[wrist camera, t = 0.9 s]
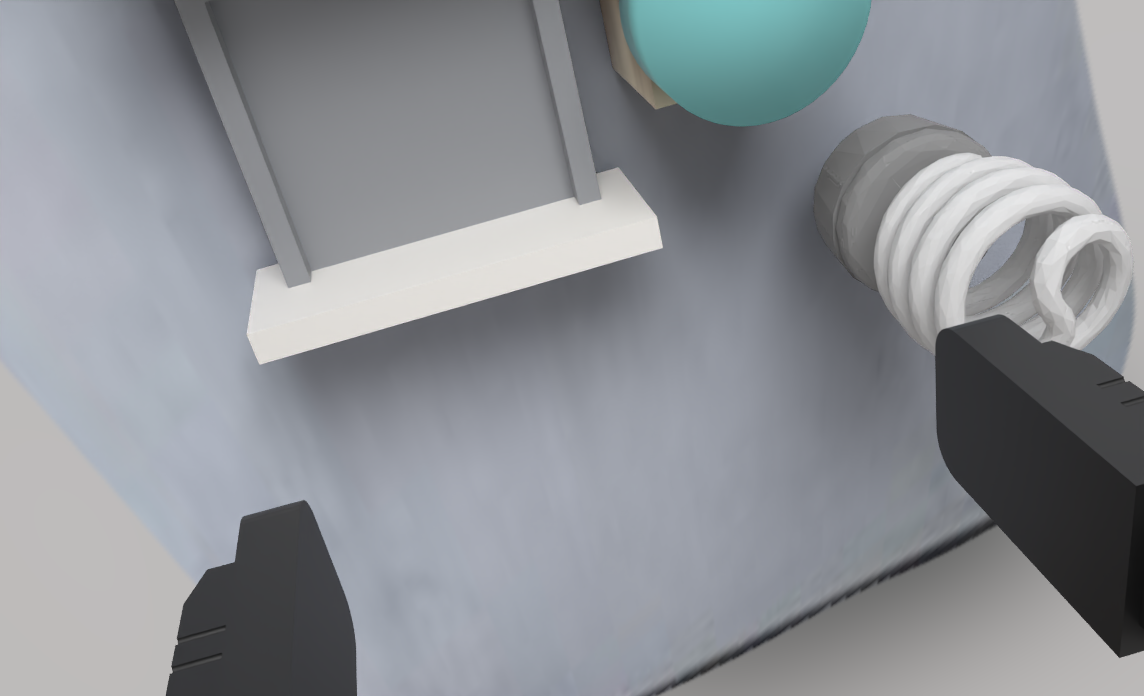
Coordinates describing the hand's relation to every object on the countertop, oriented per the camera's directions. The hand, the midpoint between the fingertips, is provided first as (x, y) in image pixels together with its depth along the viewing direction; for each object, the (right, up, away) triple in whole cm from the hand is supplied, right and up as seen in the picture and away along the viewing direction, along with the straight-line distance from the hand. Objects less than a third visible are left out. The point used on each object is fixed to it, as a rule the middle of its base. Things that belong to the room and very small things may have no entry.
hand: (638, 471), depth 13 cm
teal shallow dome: (+3, +11, +14) cm, 18 cm away
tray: (-6, +10, +18) cm, 21 cm away
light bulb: (+9, +8, +23) cm, 26 cm away
